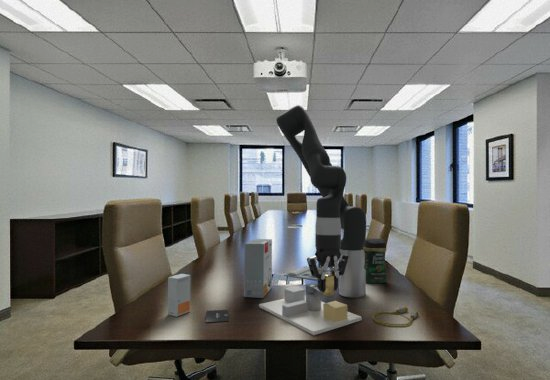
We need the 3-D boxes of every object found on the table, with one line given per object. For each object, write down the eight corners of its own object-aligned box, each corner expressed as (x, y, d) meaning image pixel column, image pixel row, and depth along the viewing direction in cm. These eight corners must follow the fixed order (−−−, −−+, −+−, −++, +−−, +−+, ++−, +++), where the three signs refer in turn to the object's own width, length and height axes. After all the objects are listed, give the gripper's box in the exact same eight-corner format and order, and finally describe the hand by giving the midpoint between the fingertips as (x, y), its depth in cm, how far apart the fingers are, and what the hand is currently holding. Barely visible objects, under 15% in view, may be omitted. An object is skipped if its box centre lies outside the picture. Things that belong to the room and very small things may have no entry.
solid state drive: (228, 311, 112) (228, 309, 112) (228, 323, 102) (228, 320, 102) (206, 312, 111) (206, 310, 111) (205, 324, 101) (205, 322, 101)
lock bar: (303, 290, 111) (302, 267, 111) (316, 288, 113) (316, 266, 113) (323, 303, 98) (323, 277, 98) (338, 301, 100) (338, 275, 100)
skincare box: (176, 317, 106) (176, 278, 106) (167, 314, 108) (167, 277, 108) (191, 311, 111) (191, 274, 111) (182, 309, 113) (181, 273, 113)
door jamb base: (303, 297, 125) (302, 280, 125) (361, 320, 102) (361, 300, 102) (259, 307, 115) (259, 289, 115) (313, 335, 91) (313, 313, 92)
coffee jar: (367, 284, 142) (366, 240, 142) (361, 279, 150) (360, 237, 150) (389, 283, 143) (389, 239, 143) (382, 279, 151) (381, 237, 151)
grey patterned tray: (283, 272, 158) (303, 264, 175) (283, 277, 158) (303, 269, 175) (329, 277, 146) (346, 268, 163) (329, 283, 146) (346, 274, 162)
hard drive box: (263, 298, 124) (263, 244, 124) (243, 297, 125) (243, 243, 125) (272, 287, 139) (272, 238, 139) (254, 286, 140) (254, 238, 141)
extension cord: (433, 325, 99) (432, 318, 99) (383, 330, 96) (383, 323, 96) (408, 311, 111) (408, 305, 111) (363, 315, 108) (363, 309, 108)
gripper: (339, 230, 108) (339, 285, 107) (301, 232, 101) (300, 290, 101) (355, 232, 101) (355, 291, 100) (315, 234, 95) (314, 297, 94)
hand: (327, 290), depth 101 cm, fingers closed on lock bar, 3 cm apart
